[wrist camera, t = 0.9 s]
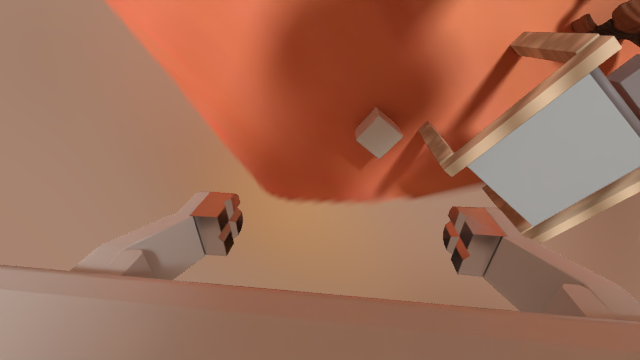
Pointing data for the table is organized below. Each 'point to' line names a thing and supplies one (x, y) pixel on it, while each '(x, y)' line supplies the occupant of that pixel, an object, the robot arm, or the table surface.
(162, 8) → the table surface
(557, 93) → the frame
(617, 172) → the trapdoor
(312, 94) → the table surface
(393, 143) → the block
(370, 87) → the table surface
